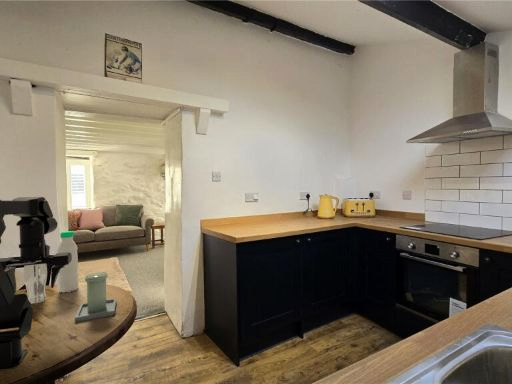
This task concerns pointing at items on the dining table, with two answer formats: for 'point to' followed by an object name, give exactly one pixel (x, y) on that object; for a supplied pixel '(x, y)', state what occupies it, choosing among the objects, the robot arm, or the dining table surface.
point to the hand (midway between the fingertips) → (34, 290)
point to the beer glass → (35, 282)
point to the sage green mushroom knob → (96, 292)
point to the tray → (109, 311)
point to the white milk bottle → (68, 272)
